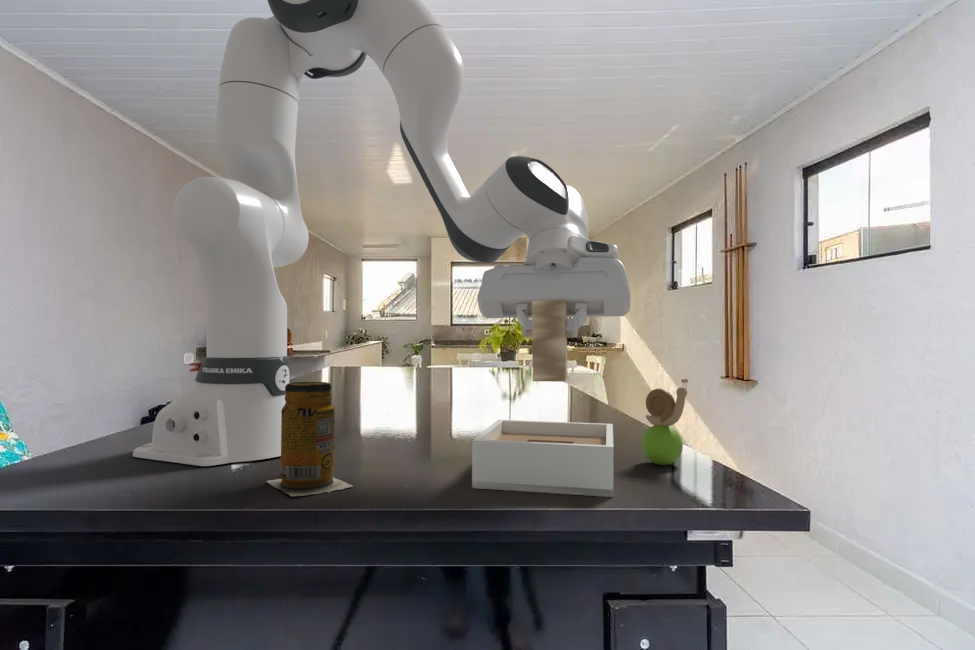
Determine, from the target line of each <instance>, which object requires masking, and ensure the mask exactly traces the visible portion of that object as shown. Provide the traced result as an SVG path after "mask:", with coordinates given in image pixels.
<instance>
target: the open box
mask: <svg viewBox="0 0 975 650" xmlns="http://www.w3.org/2000/svg"><path fill="white" fill-rule="evenodd" d="M613 426H614V424H613V423H602V422H599V423H597V422H576V421H575V422H572V421H571V422H570V421H543V420H541V421H540V420H521V419H519V420H517V419H516V420H515V419H497V420H495V422H493V423H492V424H491V425H490V426H489V427H488V428H486V429H485V430H483V431H482V432H481V433H480V434H478V435H477V436H475V438H473V439H472V441H471V442H472V443H471V445H472V446H471V450H472V451H471V488H472V489H481V490H482V489H483V490H498V491H513V492H515V491H516V492H528V493H530V492H531V493H542V494H543V493H544V494H559V495H575V496H577V495H578V496H591V497H593V496H594V497H606V498H608V497H609V498H614V427H613Z"/></svg>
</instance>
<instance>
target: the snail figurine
mask: <svg viewBox="0 0 975 650" xmlns="http://www.w3.org/2000/svg"><path fill="white" fill-rule="evenodd" d="M680 381H681V383H682V386H679V387H678V388H677V389H676V391H675V393H676V399H675V398H674V396H673V395H672V394H671V392H669V391H668V390H667V389H664V388H655V389H652V390H651V391H650V392H648V394H647V395H646V399H645V408H646V410H647V412H648V413H649V414H650V415H649V414H645V418H646V420H647V421H648V422H649V423H650V425H652V426H650V427H649V428H648V429H646V430H645V432H644V433H643V435H642V438H641V443H640V444H641V445H640V446H641V451H642V453H643V455H644V456H645V457H646V458H647V460H648V461H650V462H652V463H654V464H655V465H660V466H668V465H671V464H673V463H674V462H676V461H677V460H678V459H679V458H680V456H681V454H682V453H683V440H682V437H681V436H680V434H679V433H678V431H677V430H676V429H675V428H673V427H671V426H673V425H675V424H676V423H678V421H680V419H681V417H682V414H683V411H684V407H685V402H686V397H687V396H688V389H687V384H688V382H689V380H688V379H687V378H682V379H681V380H680Z"/></svg>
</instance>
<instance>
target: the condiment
mask: <svg viewBox="0 0 975 650" xmlns="http://www.w3.org/2000/svg"><path fill="white" fill-rule="evenodd" d="M285 393H286V395H285V401H286V404H285V405H284V407H283V408H282V411H281V414H282V416H281V456H280V478H276V479H271V480H270V479H269V480H266V481H265V482H266V483H267V484H269V485H270V486H271V487H273V488H276V489H278V490H279V491H281V492H283V494H286V495H289V496H290V497H303V496H310V495H317V494H322V493H331V492H333V491H338V490H345V489H348V488H353V487H354V485H352V484H351V483H350V484H349V483H348V482H345V481H343V480H341V479H338V478H336V477H334V467H335V466H334V465H335V448H336V447H335V446H336V445H335V424H336V421H335V408H334V405H333V403H332V402H331V401H332V384H331V383H330V382H326V381H293V382H290V383H288V384H287V385H286V387H285Z"/></svg>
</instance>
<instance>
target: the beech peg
mask: <svg viewBox="0 0 975 650" xmlns="http://www.w3.org/2000/svg"><path fill="white" fill-rule="evenodd" d="M531 319H532V337H531V340H532V341H531V344H532V347H531V349H532V350H531V353H532V355H531V356H532V381H533V382H554V383H555V382H561V383H562V382H563V383H565V382H566V381H568V337H566V333H565V325H566V323H565V322H566V319H568V317H567V302H566V301H565V300H549V301H532V317H531Z"/></svg>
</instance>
